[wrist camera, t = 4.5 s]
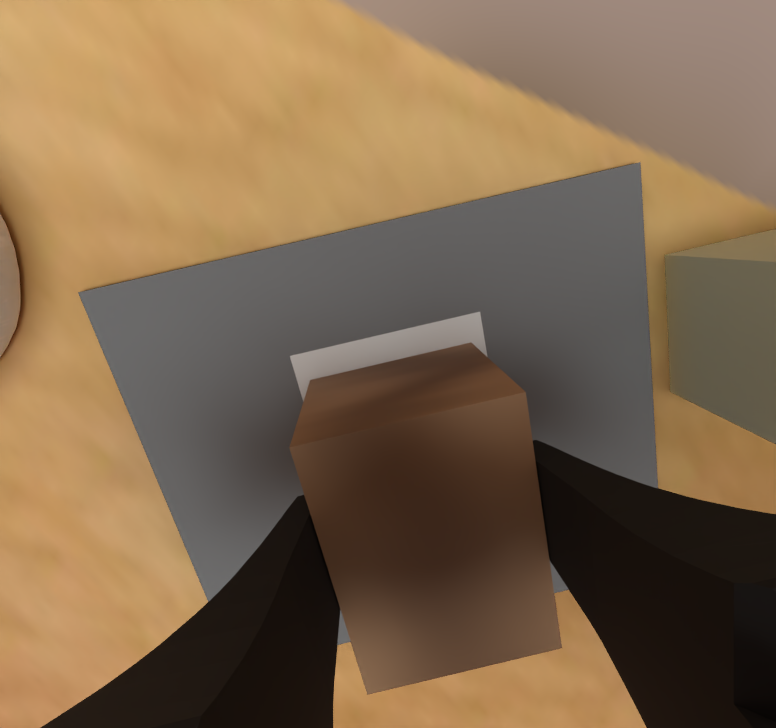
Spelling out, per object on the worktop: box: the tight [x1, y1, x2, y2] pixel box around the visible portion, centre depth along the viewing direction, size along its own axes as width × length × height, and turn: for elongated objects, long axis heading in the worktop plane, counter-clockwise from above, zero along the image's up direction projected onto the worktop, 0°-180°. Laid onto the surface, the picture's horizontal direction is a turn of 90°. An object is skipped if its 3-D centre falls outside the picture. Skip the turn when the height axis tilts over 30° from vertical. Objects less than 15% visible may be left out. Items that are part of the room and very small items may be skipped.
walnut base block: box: [289, 342, 562, 695], centre depth 12 cm, size 5×7×4 cm
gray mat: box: [79, 162, 658, 645], centre depth 14 cm, size 16×14×1 cm
